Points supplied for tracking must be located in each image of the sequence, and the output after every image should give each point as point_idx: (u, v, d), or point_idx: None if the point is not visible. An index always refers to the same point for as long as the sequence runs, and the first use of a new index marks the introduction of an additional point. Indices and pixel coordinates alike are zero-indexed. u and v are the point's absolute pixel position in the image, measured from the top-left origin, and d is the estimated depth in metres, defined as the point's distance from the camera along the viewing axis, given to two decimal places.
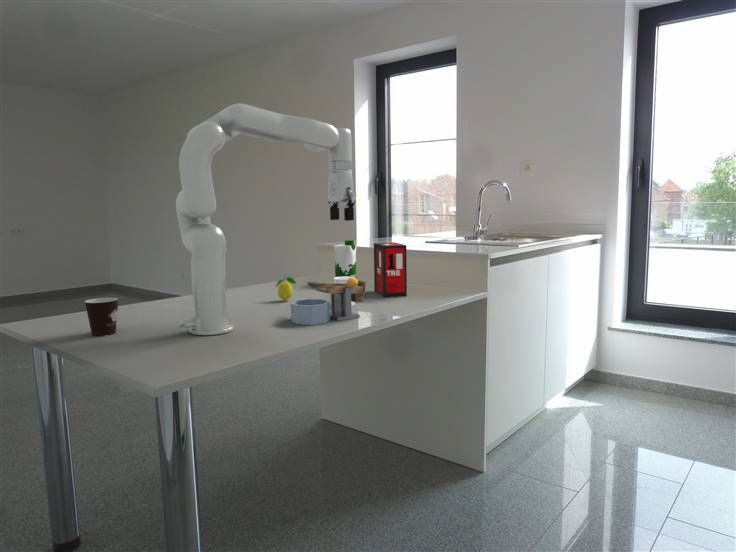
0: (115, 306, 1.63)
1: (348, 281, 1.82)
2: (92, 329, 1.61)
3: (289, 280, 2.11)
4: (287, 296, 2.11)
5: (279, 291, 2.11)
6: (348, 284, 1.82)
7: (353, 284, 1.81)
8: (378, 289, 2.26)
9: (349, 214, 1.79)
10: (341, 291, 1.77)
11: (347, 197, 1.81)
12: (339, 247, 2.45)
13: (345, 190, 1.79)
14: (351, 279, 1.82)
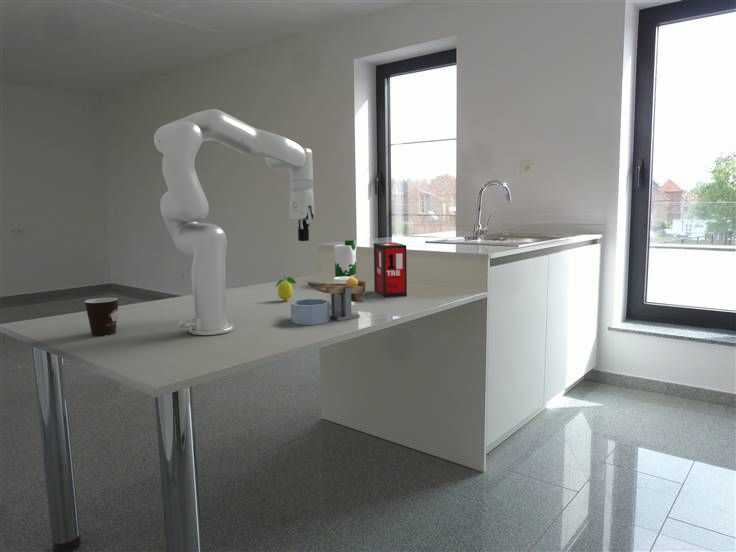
0: (115, 306, 1.63)
1: (348, 281, 1.82)
2: (92, 329, 1.61)
3: (289, 280, 2.11)
4: (287, 296, 2.11)
5: (279, 291, 2.11)
6: (348, 284, 1.82)
7: (353, 284, 1.81)
8: (378, 289, 2.26)
9: (304, 235, 1.88)
10: (341, 291, 1.77)
11: None
12: (339, 247, 2.45)
13: (306, 208, 1.83)
14: (351, 279, 1.82)
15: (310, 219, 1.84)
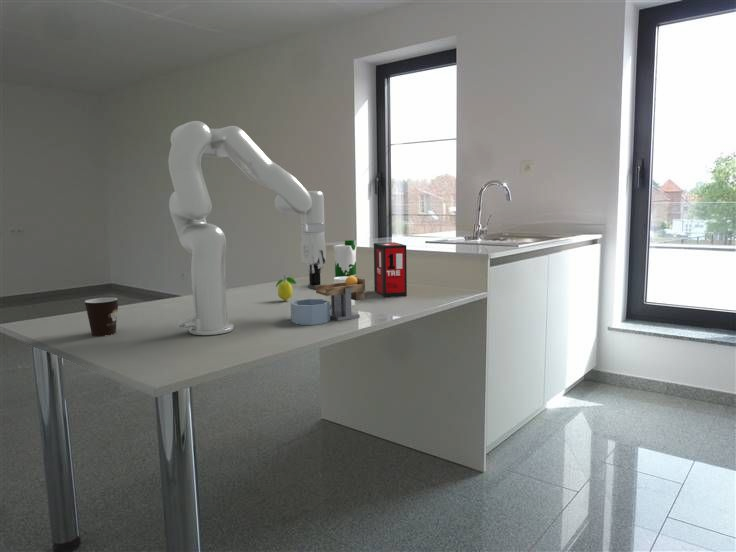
0: (115, 306, 1.63)
1: (347, 280, 1.82)
2: (92, 329, 1.61)
3: (289, 280, 2.11)
4: (287, 296, 2.11)
5: (279, 291, 2.11)
6: (347, 283, 1.82)
7: (353, 282, 1.81)
8: (378, 289, 2.26)
9: (315, 279, 1.83)
10: (341, 292, 1.77)
11: None
12: (339, 247, 2.45)
13: (317, 253, 1.78)
14: (350, 278, 1.82)
15: (321, 264, 1.79)
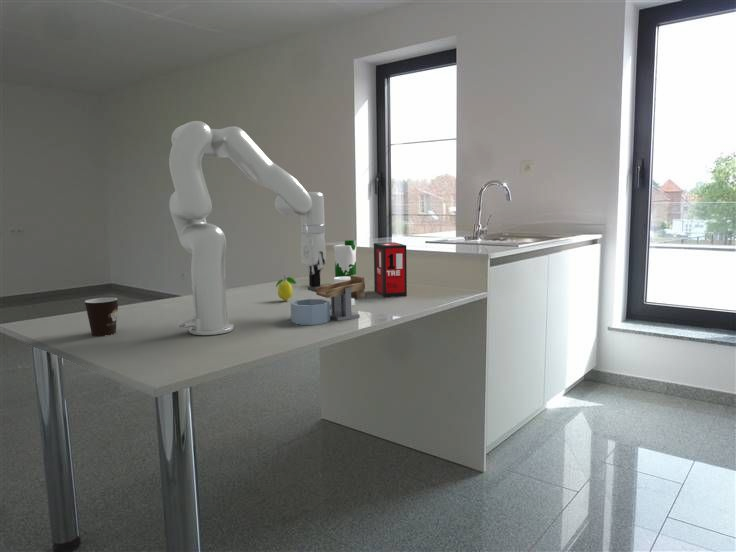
0: (115, 306, 1.63)
1: None
2: (92, 329, 1.61)
3: (289, 280, 2.11)
4: (287, 296, 2.11)
5: (279, 291, 2.11)
6: None
7: None
8: (378, 289, 2.26)
9: (315, 280, 1.83)
10: (341, 292, 1.77)
11: None
12: (339, 247, 2.45)
13: (317, 254, 1.78)
14: None
15: (321, 265, 1.79)
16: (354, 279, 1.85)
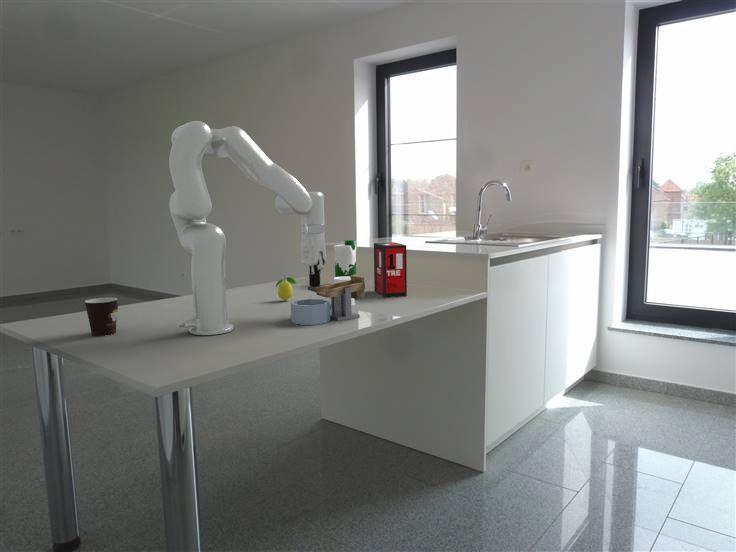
0: (115, 306, 1.63)
1: None
2: (92, 329, 1.61)
3: (289, 280, 2.11)
4: (287, 296, 2.11)
5: (279, 291, 2.11)
6: None
7: None
8: (378, 289, 2.26)
9: (315, 280, 1.83)
10: (341, 292, 1.77)
11: None
12: (339, 247, 2.45)
13: (317, 254, 1.78)
14: None
15: (321, 265, 1.79)
16: (354, 279, 1.85)
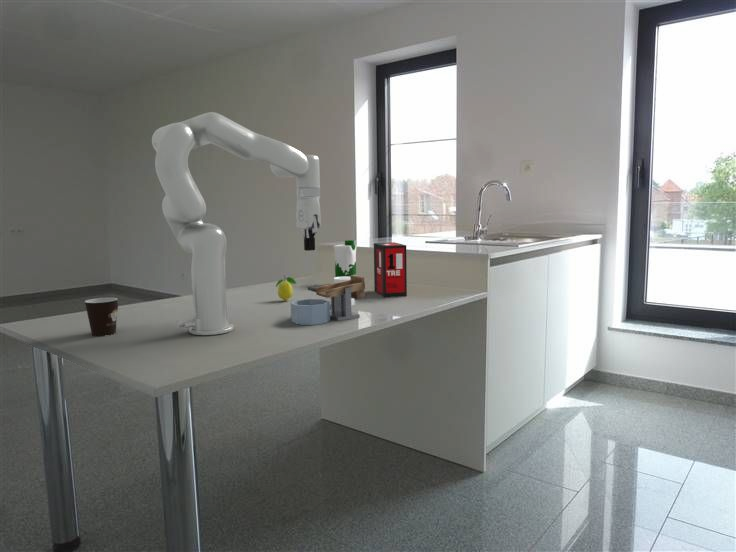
0: (115, 306, 1.63)
1: None
2: (92, 329, 1.61)
3: (289, 280, 2.11)
4: (287, 296, 2.11)
5: (279, 291, 2.11)
6: None
7: None
8: (378, 289, 2.26)
9: (310, 244, 1.82)
10: (341, 292, 1.77)
11: None
12: (339, 247, 2.45)
13: (312, 217, 1.78)
14: None
15: (316, 228, 1.79)
16: (354, 279, 1.85)
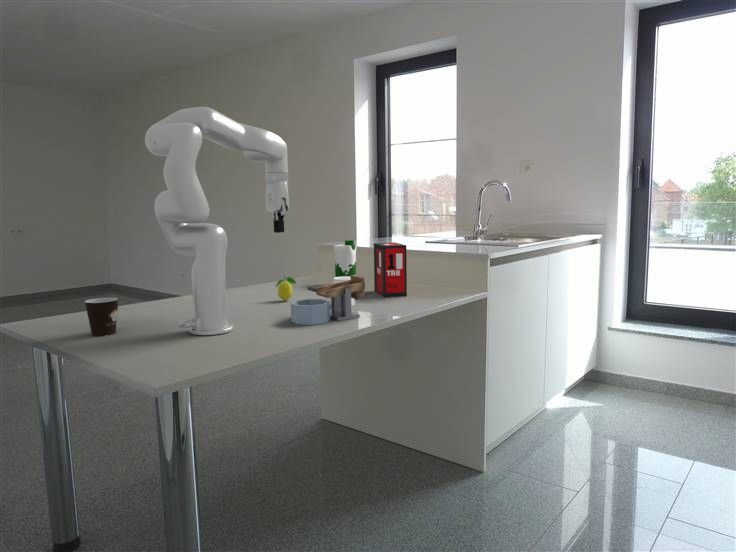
0: (115, 306, 1.63)
1: None
2: (92, 329, 1.61)
3: (289, 280, 2.11)
4: (287, 296, 2.11)
5: (279, 291, 2.11)
6: None
7: None
8: (378, 289, 2.26)
9: (279, 226, 1.91)
10: (341, 292, 1.77)
11: None
12: (339, 247, 2.45)
13: (280, 200, 1.86)
14: None
15: (284, 211, 1.87)
16: (354, 279, 1.85)
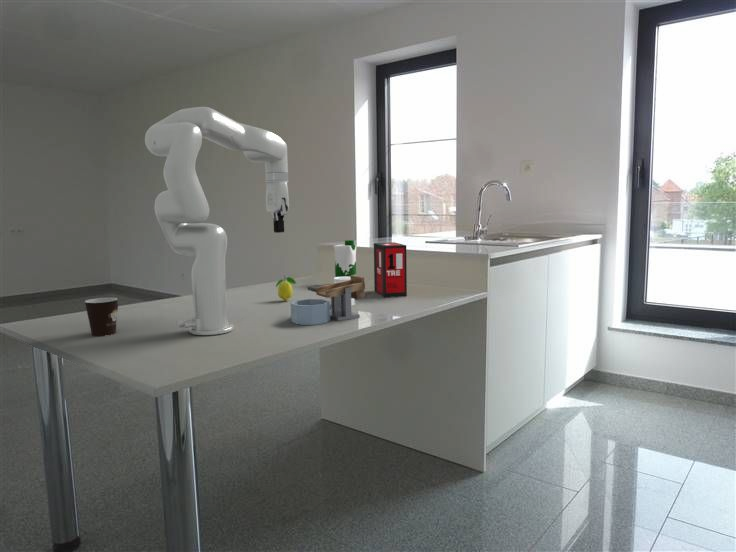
0: (115, 306, 1.63)
1: None
2: (92, 329, 1.61)
3: (289, 280, 2.11)
4: (287, 296, 2.11)
5: (279, 291, 2.11)
6: None
7: None
8: (378, 289, 2.26)
9: (279, 226, 1.91)
10: (341, 292, 1.77)
11: None
12: (339, 247, 2.45)
13: (280, 200, 1.86)
14: None
15: (284, 211, 1.87)
16: (354, 279, 1.85)
